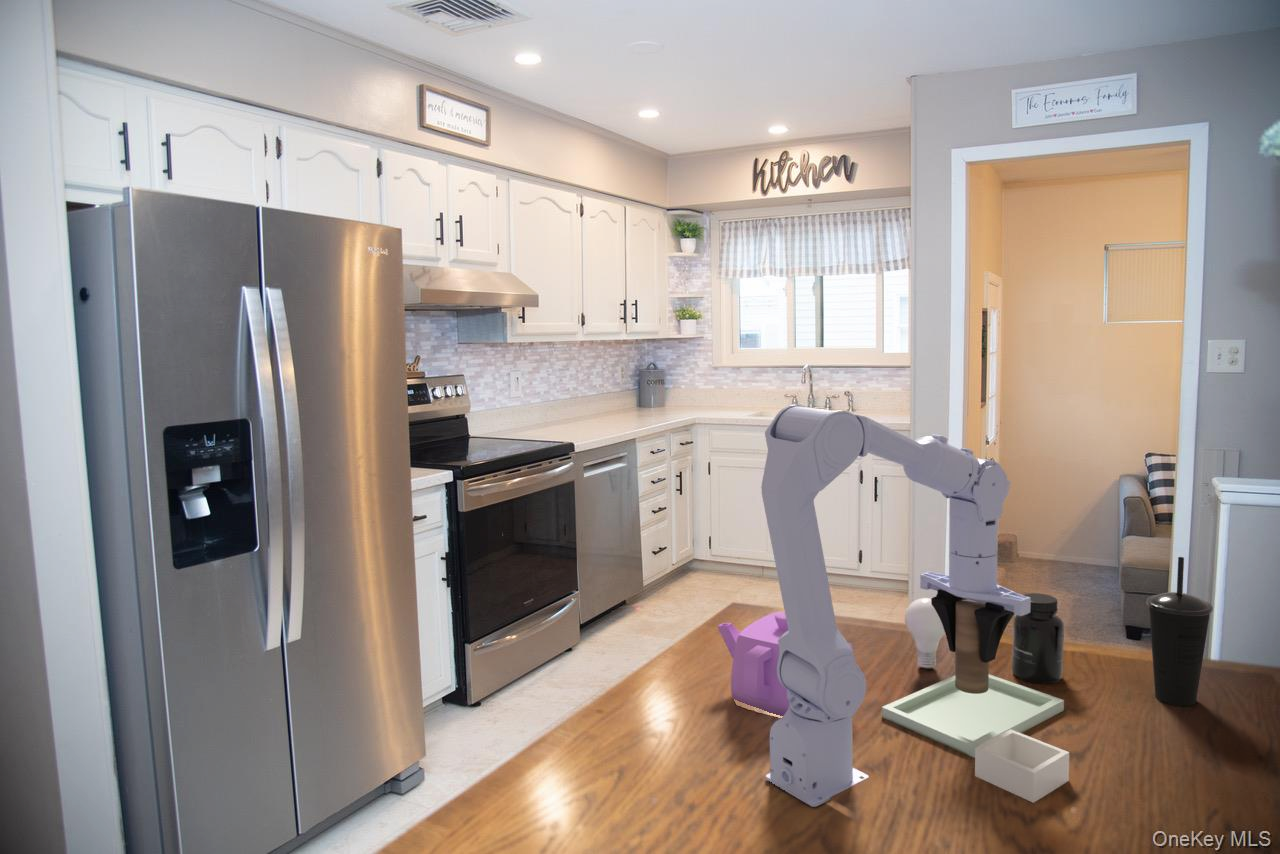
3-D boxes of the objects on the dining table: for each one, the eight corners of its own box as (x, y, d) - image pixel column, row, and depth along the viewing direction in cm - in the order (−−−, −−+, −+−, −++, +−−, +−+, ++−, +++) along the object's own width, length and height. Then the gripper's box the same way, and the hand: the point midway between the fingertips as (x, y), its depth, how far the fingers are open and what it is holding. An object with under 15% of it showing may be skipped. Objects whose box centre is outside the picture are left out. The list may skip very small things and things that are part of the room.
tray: (974, 762, 105) (975, 746, 105) (881, 721, 116) (881, 706, 116) (1063, 714, 116) (1064, 700, 116) (971, 681, 128) (971, 668, 127)
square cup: (1033, 807, 95) (1034, 773, 95) (974, 780, 101) (975, 747, 100) (1068, 785, 99) (1069, 752, 99) (1010, 760, 105) (1010, 729, 104)
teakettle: (746, 731, 115) (745, 641, 114) (716, 679, 132) (714, 601, 130) (868, 717, 118) (867, 630, 116) (823, 668, 134) (822, 591, 133)
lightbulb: (895, 665, 134) (896, 596, 133) (927, 657, 137) (927, 589, 136) (925, 680, 129) (925, 608, 127) (957, 671, 131) (958, 601, 130)
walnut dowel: (976, 696, 109) (977, 612, 107) (948, 686, 112) (949, 604, 111) (994, 687, 111) (995, 604, 110) (966, 677, 114) (967, 597, 113)
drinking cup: (1189, 686, 123) (1195, 549, 121) (1220, 711, 116) (1227, 565, 113) (1133, 686, 124) (1138, 550, 121) (1159, 710, 116) (1165, 565, 114)
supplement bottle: (1009, 680, 127) (1011, 601, 126) (1014, 663, 133) (1015, 588, 132) (1061, 688, 124) (1063, 607, 123) (1063, 670, 130) (1065, 593, 129)
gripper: (1045, 557, 106) (1043, 664, 107) (943, 535, 118) (943, 631, 119) (1012, 568, 102) (1010, 679, 103) (910, 544, 114) (909, 644, 115)
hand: (972, 654), depth 111 cm, fingers closed on walnut dowel, 4 cm apart
